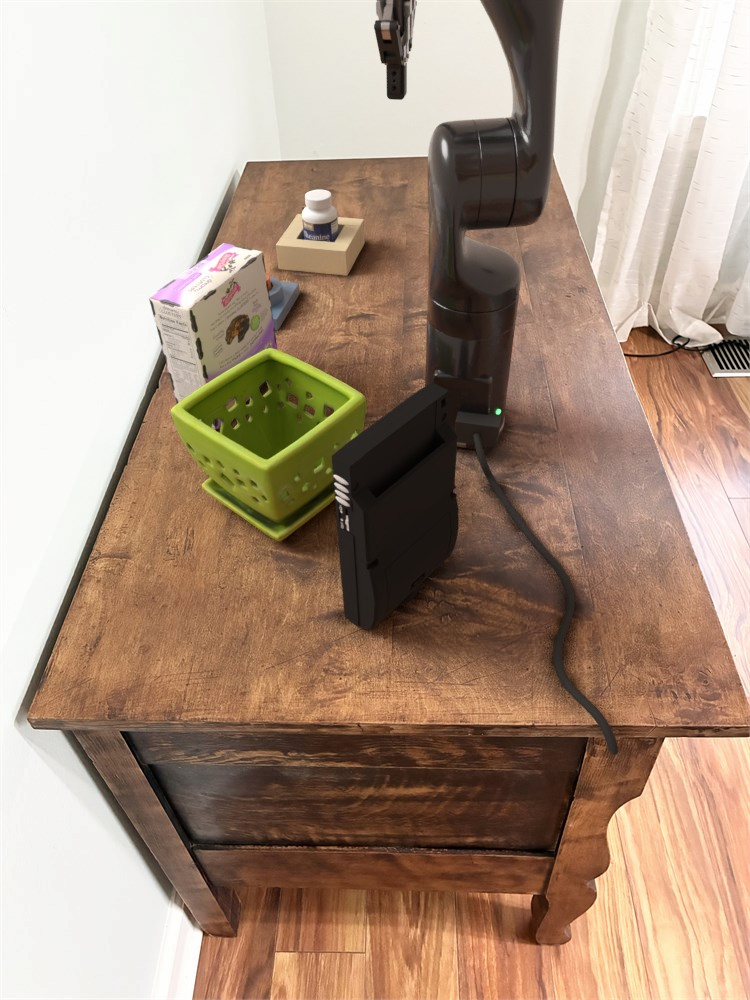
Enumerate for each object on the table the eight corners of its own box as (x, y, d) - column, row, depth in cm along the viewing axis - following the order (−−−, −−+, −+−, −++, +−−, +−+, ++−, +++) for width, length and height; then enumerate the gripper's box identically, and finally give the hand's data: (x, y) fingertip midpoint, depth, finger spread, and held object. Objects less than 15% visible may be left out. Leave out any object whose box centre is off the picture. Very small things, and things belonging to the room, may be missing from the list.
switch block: (278, 330, 104) (275, 307, 101) (223, 324, 105) (219, 301, 103) (299, 293, 111) (297, 271, 108) (248, 288, 112) (245, 266, 110)
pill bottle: (300, 261, 118) (294, 200, 111) (312, 246, 121) (307, 185, 114) (333, 266, 116) (329, 203, 110) (344, 250, 120) (340, 189, 113)
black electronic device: (422, 543, 75) (426, 378, 61) (458, 565, 73) (472, 399, 59) (339, 618, 69) (323, 453, 55) (377, 645, 67) (370, 481, 52)
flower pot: (190, 501, 80) (163, 406, 71) (283, 436, 87) (270, 342, 78) (282, 565, 73) (265, 469, 64) (375, 489, 81) (371, 393, 72)
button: (267, 295, 104) (265, 284, 103) (245, 293, 105) (243, 282, 104) (274, 284, 106) (273, 273, 105) (253, 282, 107) (251, 271, 106)
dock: (347, 275, 114) (346, 251, 111) (278, 269, 116) (275, 244, 113) (364, 243, 122) (363, 218, 119) (299, 237, 124) (297, 213, 121)
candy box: (245, 359, 99) (223, 239, 87) (282, 370, 97) (265, 250, 85) (178, 418, 90) (145, 294, 79) (217, 432, 88) (189, 307, 77)
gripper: (374, -88, 86) (378, 80, 98) (346, -69, 76) (354, 114, 89) (440, -88, 84) (435, 82, 96) (419, -69, 75) (417, 117, 87)
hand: (396, 97), depth 92 cm, fingers closed
